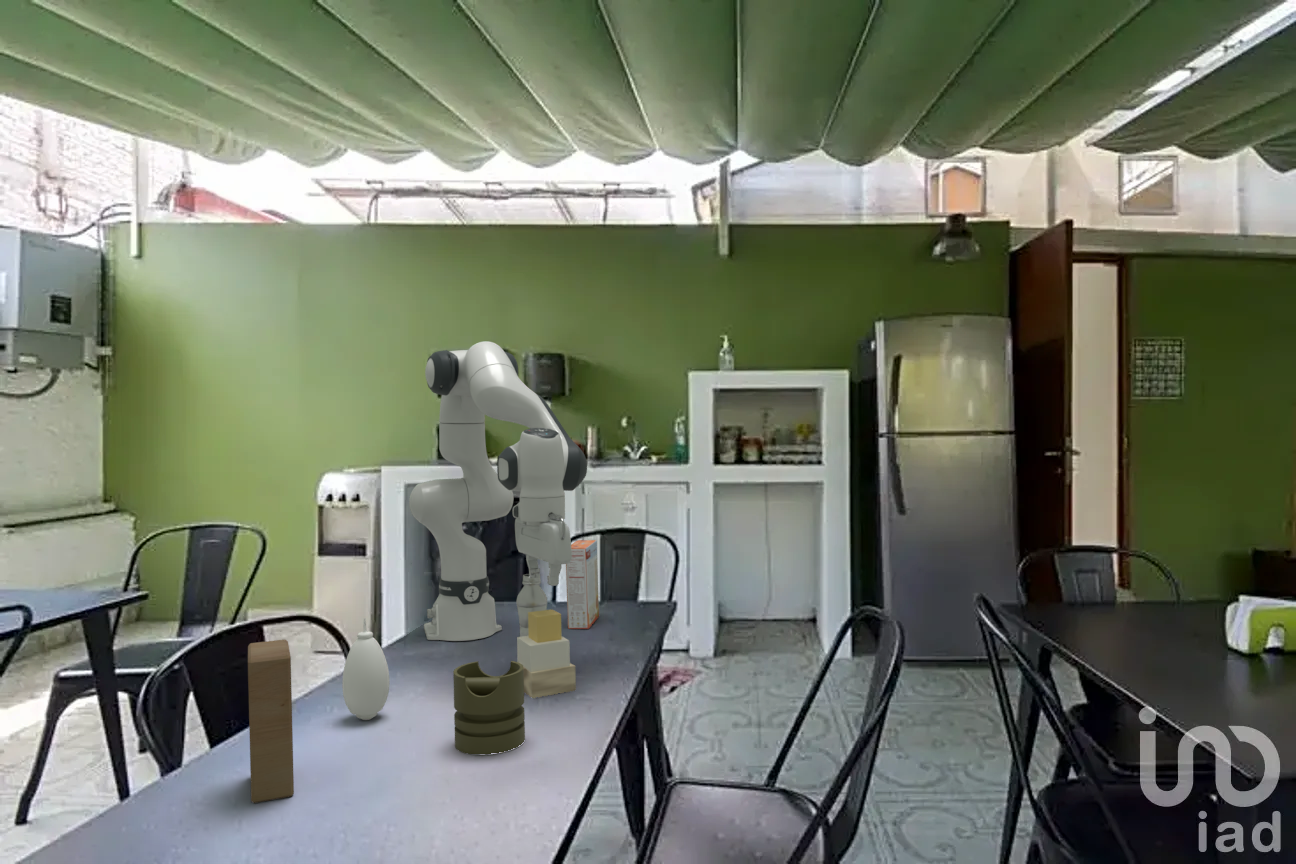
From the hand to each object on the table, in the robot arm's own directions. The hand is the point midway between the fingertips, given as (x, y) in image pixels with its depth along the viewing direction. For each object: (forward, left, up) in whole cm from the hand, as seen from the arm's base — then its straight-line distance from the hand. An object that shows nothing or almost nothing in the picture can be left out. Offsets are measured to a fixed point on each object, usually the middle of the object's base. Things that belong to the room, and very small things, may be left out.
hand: (543, 581), depth 171 cm
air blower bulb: (-1, -34, -21) cm, 40 cm away
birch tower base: (0, 0, -21) cm, 21 cm away
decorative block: (+22, -52, -21) cm, 60 cm away
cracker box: (-47, +30, -21) cm, 60 cm away
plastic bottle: (-14, +3, -21) cm, 26 cm away
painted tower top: (0, 0, -16) cm, 16 cm away
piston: (+22, -19, -21) cm, 36 cm away
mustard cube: (0, 0, -11) cm, 11 cm away
